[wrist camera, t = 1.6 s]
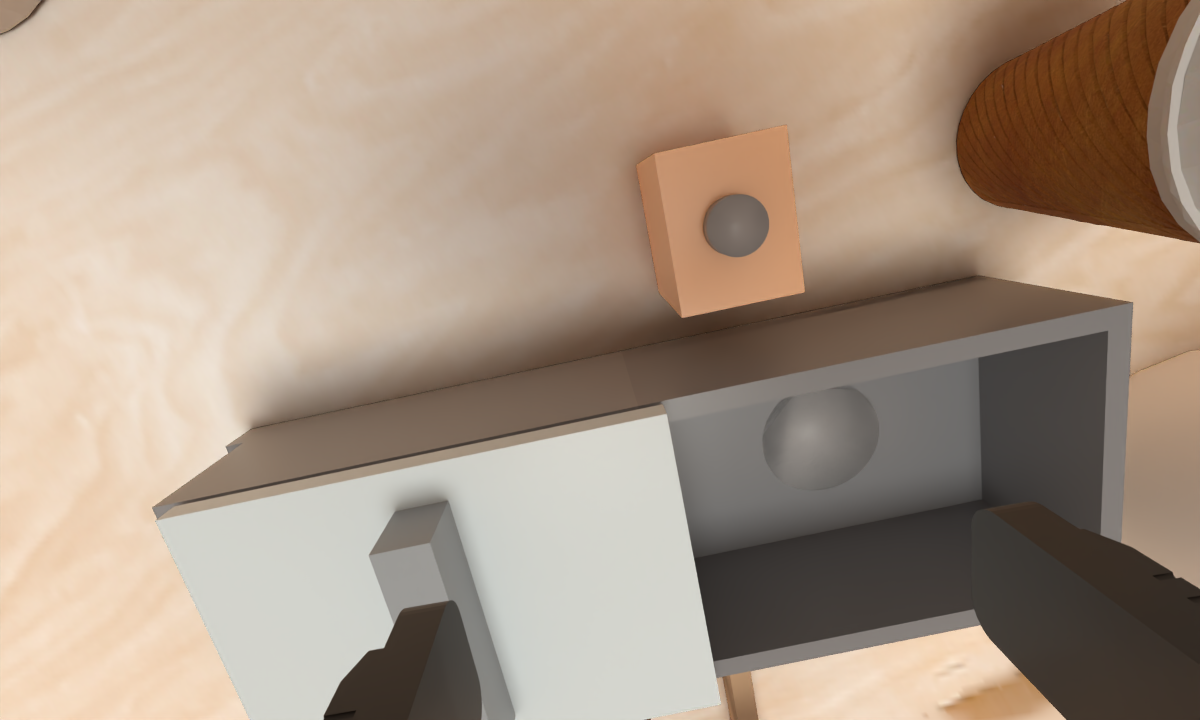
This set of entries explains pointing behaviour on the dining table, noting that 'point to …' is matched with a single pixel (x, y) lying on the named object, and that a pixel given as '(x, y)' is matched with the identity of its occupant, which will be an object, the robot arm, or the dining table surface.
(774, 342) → the frame
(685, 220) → the orange rectangular block
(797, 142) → the dining table surface
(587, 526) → the lid
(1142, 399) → the canister
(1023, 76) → the disposable coffee cup
